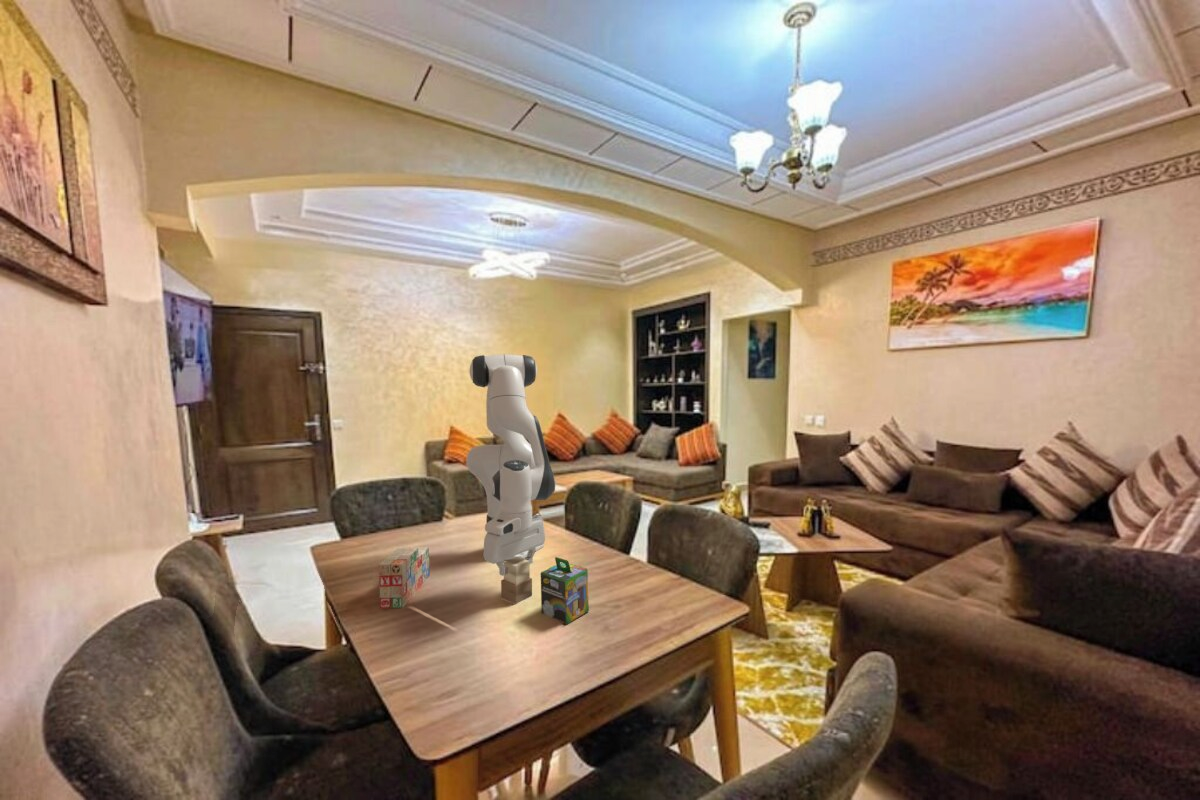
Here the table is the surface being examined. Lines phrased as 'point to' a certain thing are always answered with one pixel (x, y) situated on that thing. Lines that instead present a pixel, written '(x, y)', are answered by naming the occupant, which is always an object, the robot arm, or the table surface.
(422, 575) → the stack of blocks
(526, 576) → the birch cube
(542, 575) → the chalk box
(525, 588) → the walnut block
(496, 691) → the table surface
